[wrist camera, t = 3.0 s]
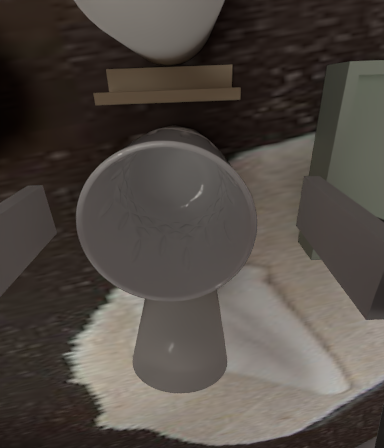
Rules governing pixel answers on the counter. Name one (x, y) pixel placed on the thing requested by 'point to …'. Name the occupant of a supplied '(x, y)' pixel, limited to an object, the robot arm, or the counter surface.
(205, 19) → the white pillar candle
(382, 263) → the robot arm
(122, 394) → the counter surface
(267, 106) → the counter surface
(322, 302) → the counter surface
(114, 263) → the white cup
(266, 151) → the counter surface
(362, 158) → the tray
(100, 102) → the rack
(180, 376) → the grey tapered cylinder
